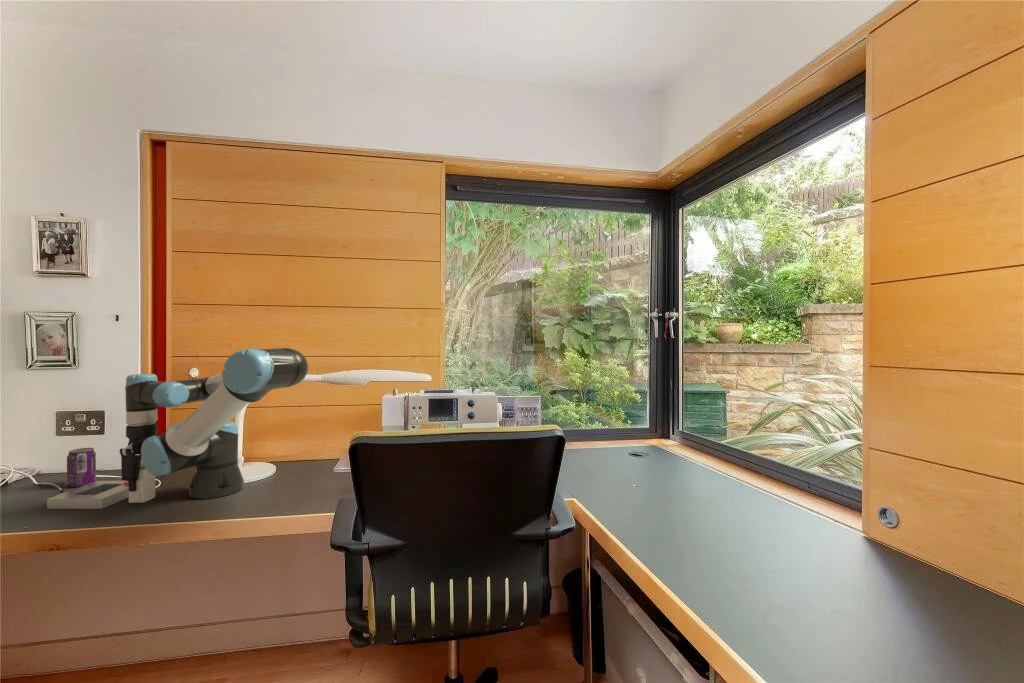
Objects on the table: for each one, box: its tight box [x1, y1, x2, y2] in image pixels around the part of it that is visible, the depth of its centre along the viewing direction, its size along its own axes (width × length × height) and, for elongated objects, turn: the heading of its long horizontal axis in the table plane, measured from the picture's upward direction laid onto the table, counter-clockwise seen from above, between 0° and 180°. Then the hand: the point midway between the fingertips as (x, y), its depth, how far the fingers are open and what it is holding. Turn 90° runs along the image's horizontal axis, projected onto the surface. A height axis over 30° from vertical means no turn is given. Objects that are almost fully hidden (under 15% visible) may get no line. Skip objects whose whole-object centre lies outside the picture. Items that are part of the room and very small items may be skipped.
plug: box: [128, 462, 156, 504], centre depth 136 cm, size 4×4×11 cm
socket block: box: [46, 480, 129, 510], centre depth 137 cm, size 16×16×4 cm
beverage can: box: [66, 447, 97, 488], centre depth 150 cm, size 7×7×12 cm
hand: (142, 497), depth 136 cm, fingers closed on plug, 4 cm apart
